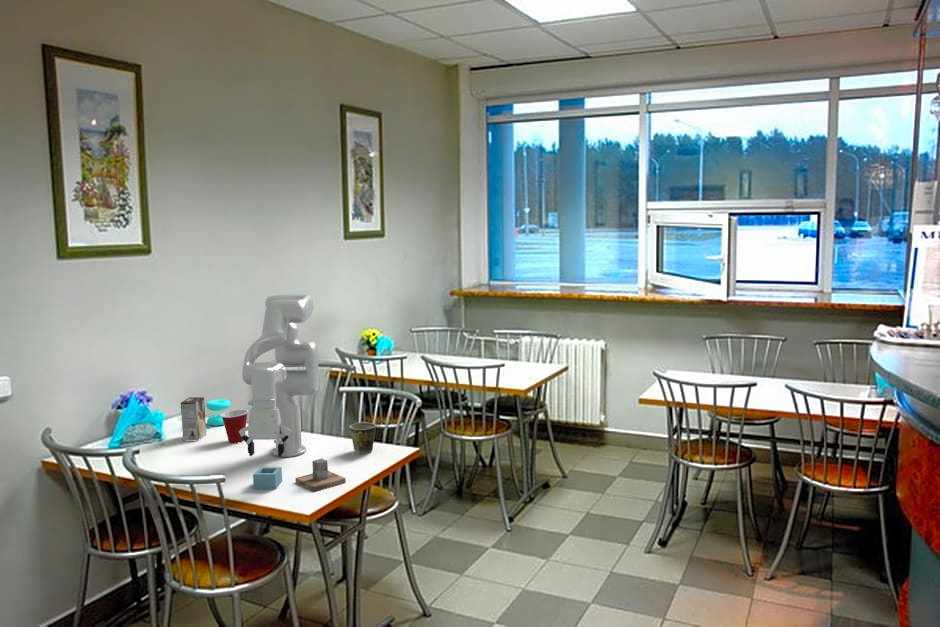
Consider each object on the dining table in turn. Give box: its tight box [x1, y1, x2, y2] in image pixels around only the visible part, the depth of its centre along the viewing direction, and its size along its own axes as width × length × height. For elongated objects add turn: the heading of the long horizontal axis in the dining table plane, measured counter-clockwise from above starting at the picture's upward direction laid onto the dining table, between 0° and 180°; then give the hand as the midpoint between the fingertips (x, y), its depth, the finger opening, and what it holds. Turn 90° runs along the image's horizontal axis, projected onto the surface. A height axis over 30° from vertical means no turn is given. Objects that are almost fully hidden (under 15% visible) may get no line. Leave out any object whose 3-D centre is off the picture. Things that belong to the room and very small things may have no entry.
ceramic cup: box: [349, 421, 377, 455], centre depth 283 cm, size 13×10×10 cm
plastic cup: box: [220, 409, 249, 444], centre depth 299 cm, size 11×11×12 cm
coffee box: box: [180, 396, 207, 441], centre depth 304 cm, size 9×6×16 cm
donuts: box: [205, 398, 231, 427], centre depth 326 cm, size 10×10×10 cm
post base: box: [295, 458, 347, 492], centre depth 252 cm, size 12×12×8 cm
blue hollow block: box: [252, 466, 283, 490], centre depth 250 cm, size 7×7×5 cm
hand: (266, 455), depth 248 cm, fingers open, 9 cm apart
